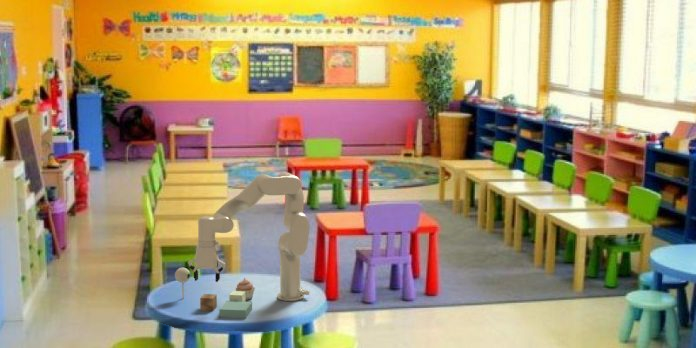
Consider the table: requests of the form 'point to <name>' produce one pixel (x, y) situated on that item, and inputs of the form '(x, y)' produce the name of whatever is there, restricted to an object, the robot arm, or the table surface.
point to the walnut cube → (208, 302)
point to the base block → (235, 309)
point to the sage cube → (237, 296)
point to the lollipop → (182, 277)
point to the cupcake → (246, 288)
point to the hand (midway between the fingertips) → (206, 280)
